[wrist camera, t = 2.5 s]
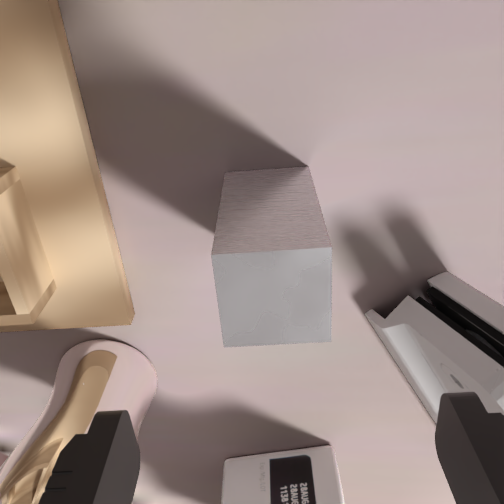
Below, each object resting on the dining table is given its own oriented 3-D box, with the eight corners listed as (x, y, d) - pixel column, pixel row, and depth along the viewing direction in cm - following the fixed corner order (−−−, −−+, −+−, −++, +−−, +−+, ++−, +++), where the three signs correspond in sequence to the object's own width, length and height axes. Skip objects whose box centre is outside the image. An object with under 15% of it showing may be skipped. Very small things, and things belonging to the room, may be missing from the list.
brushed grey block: (224, 172, 23) (211, 254, 16) (308, 166, 22) (331, 247, 15) (233, 245, 25) (223, 347, 18) (309, 240, 24) (331, 341, 17)
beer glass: (188, 374, 29) (132, 691, 16) (122, 430, 32) (28, 744, 19) (92, 312, 27) (-64, 622, 14) (30, 378, 29) (-152, 693, 16)
